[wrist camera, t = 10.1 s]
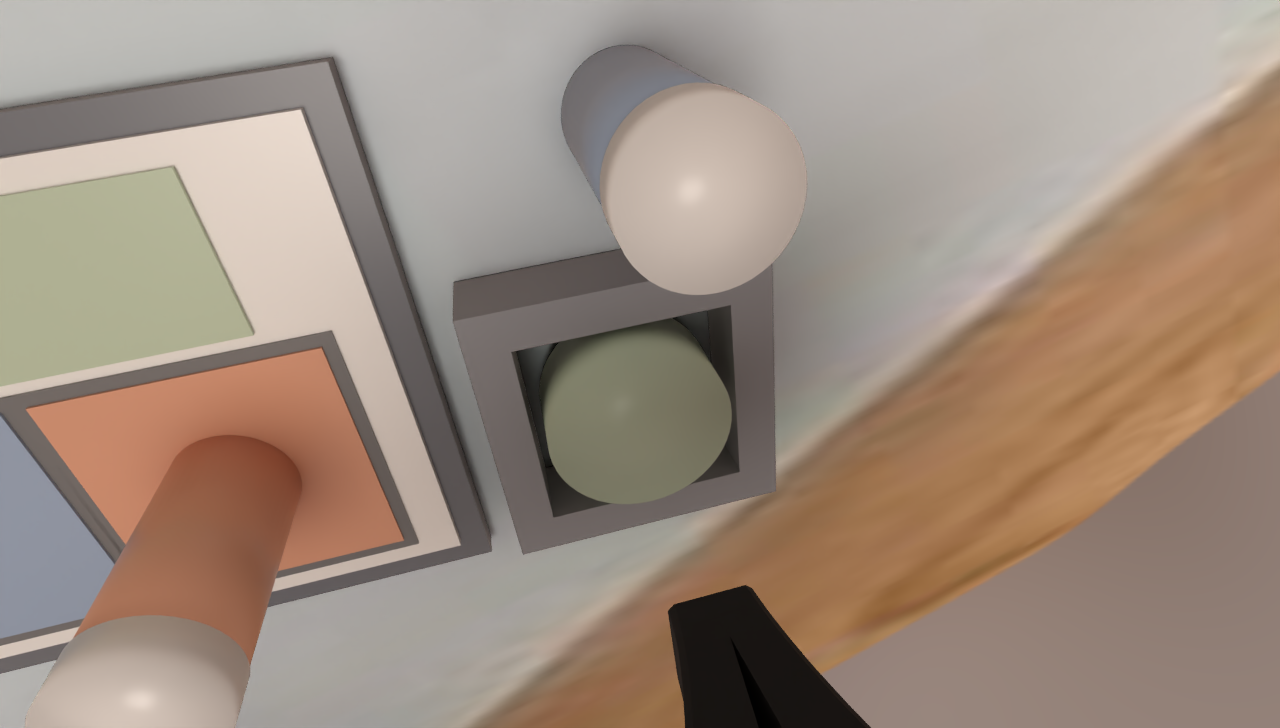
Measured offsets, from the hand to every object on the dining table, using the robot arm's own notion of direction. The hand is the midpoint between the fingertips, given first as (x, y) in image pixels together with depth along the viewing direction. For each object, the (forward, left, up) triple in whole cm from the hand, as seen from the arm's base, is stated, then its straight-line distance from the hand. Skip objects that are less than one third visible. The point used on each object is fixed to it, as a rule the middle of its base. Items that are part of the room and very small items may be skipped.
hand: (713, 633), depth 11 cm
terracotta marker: (0, +9, -7) cm, 12 cm away
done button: (0, 0, -8) cm, 8 cm away
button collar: (0, 0, -8) cm, 8 cm away
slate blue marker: (+7, -1, -8) cm, 11 cm away
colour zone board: (+2, +12, -8) cm, 15 cm away
